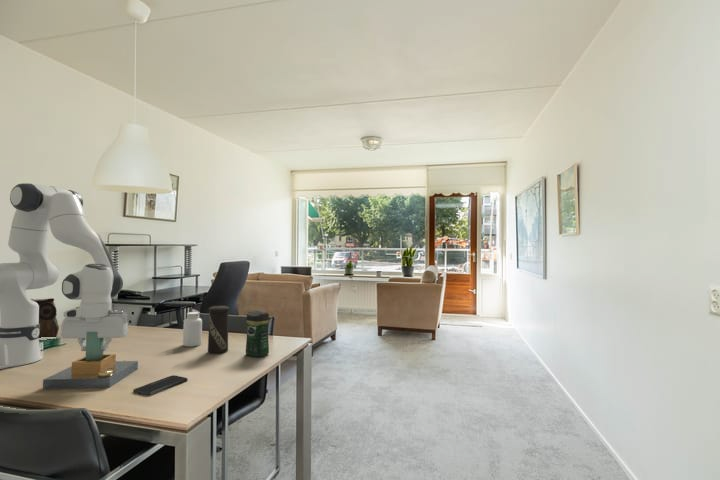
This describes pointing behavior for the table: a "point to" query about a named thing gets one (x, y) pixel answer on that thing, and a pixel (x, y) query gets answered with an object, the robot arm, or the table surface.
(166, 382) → the phone
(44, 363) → the table surface
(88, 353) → the spout can
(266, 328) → the coffee jar
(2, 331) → the robot arm
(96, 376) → the wooden box with base
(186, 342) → the pill bottle
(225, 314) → the container
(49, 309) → the owl
